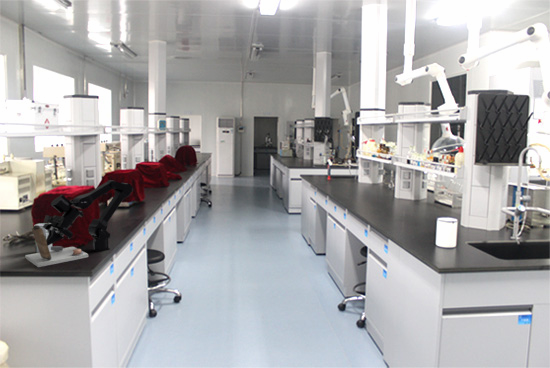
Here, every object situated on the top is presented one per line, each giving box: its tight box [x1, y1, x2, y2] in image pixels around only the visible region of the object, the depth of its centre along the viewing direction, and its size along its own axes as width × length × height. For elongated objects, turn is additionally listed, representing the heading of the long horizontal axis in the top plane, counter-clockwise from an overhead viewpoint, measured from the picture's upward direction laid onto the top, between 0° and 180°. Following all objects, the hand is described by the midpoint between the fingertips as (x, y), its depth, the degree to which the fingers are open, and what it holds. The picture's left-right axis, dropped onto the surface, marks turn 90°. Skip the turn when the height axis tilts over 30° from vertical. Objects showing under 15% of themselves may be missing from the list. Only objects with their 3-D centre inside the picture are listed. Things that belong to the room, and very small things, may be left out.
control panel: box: [24, 246, 89, 268], centre depth 198 cm, size 22×20×2 cm
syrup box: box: [33, 222, 53, 253], centre depth 208 cm, size 6×6×14 cm
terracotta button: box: [73, 248, 82, 255], centre depth 198 cm, size 4×4×2 cm
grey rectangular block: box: [51, 245, 64, 251], centre depth 204 cm, size 4×3×2 cm
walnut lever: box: [31, 224, 51, 260], centre depth 188 cm, size 3×6×17 cm, turn 53°
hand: (45, 245), depth 190 cm, fingers closed, pressing on walnut lever
